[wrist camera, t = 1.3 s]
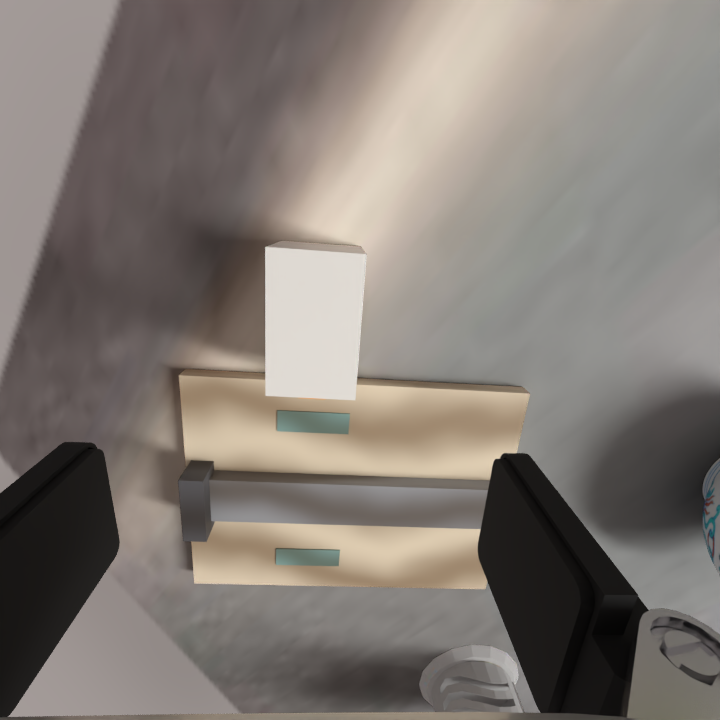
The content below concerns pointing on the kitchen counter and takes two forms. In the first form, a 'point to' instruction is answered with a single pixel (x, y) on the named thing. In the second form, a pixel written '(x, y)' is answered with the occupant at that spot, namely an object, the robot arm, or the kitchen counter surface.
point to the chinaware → (712, 513)
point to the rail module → (313, 319)
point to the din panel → (341, 481)
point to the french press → (472, 681)
